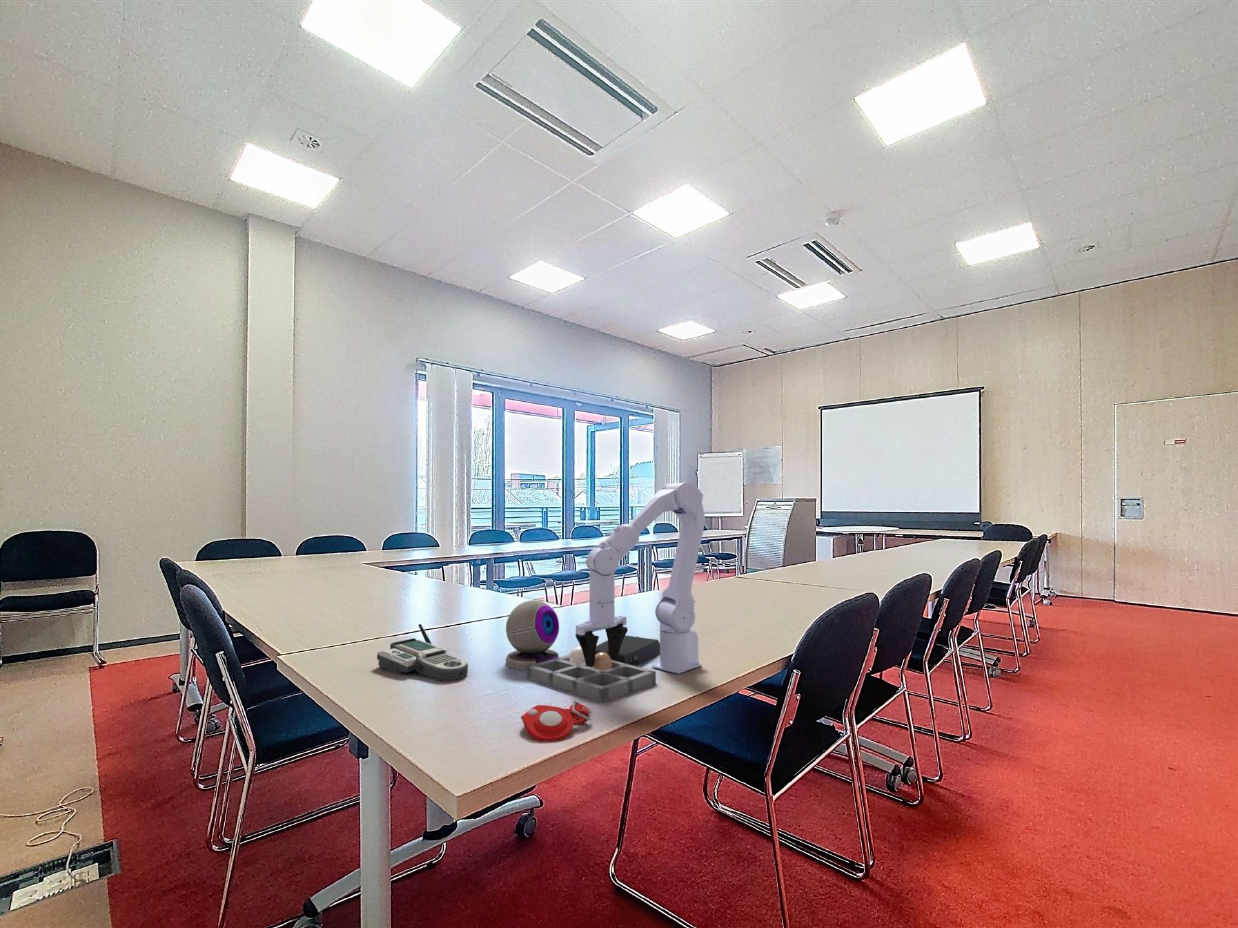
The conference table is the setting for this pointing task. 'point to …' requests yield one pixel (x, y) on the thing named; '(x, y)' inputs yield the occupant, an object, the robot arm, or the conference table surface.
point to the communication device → (422, 659)
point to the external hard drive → (634, 650)
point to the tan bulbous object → (602, 661)
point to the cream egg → (577, 656)
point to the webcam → (531, 634)
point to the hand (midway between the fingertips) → (602, 661)
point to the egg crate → (591, 678)
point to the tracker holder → (554, 721)
